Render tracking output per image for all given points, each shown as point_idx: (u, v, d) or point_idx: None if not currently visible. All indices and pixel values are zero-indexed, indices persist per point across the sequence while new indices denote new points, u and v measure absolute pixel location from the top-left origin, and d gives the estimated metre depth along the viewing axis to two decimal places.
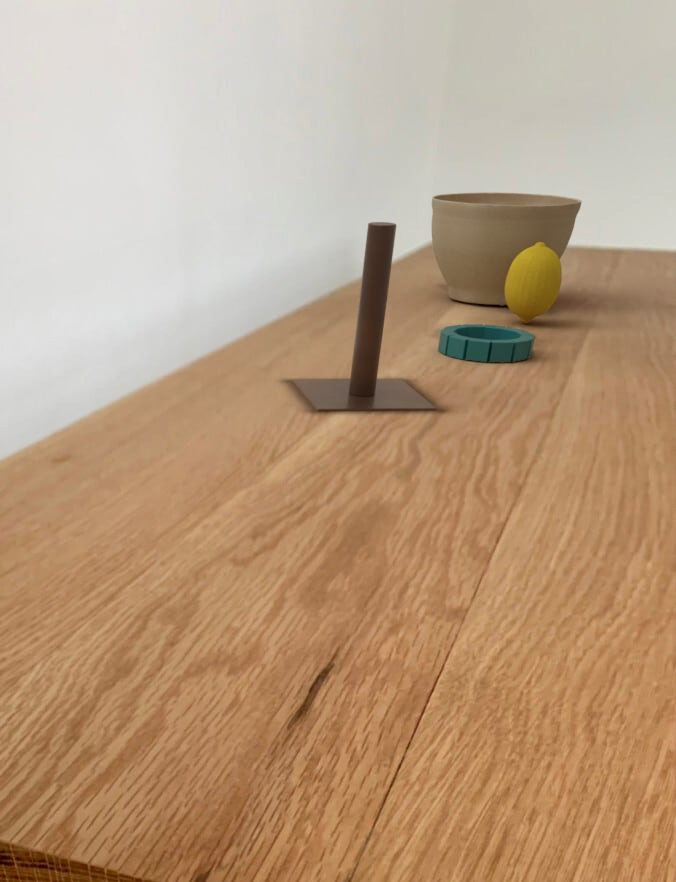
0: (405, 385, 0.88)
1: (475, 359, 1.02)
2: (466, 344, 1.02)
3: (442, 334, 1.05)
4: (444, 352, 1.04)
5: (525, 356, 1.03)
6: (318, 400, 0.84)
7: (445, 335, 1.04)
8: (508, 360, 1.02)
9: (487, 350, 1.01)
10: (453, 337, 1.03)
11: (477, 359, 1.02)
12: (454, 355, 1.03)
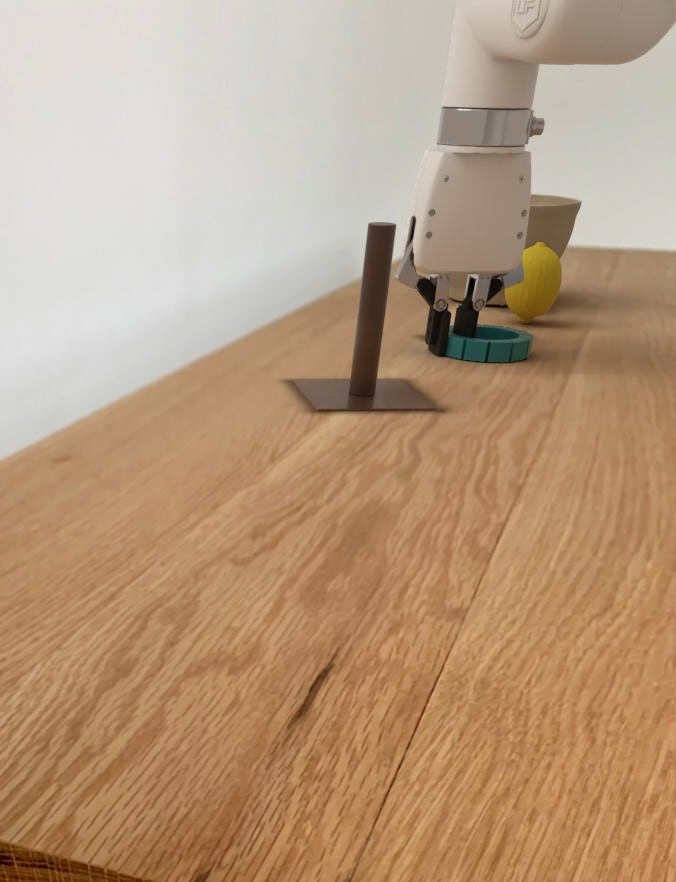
0: (405, 385, 0.88)
1: (473, 359, 1.02)
2: (464, 344, 1.02)
3: None
4: None
5: (523, 356, 1.03)
6: (318, 400, 0.84)
7: None
8: (506, 360, 1.02)
9: (485, 350, 1.01)
10: (451, 337, 1.03)
11: (475, 359, 1.02)
12: (452, 355, 1.03)
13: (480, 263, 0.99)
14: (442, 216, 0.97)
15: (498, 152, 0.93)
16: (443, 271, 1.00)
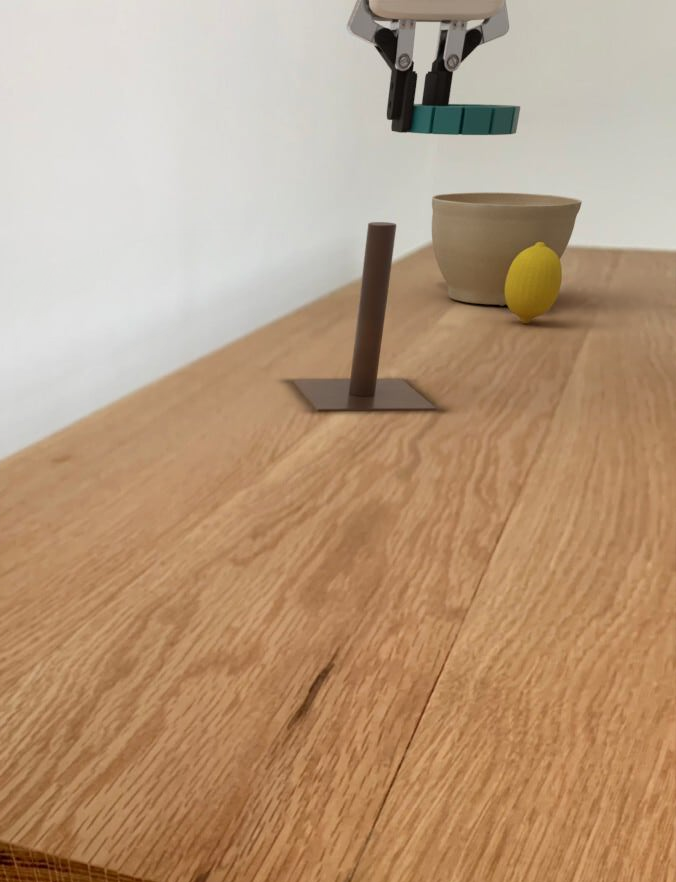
0: (405, 385, 0.88)
1: (444, 131, 0.82)
2: (433, 113, 0.82)
3: None
4: None
5: (507, 129, 0.82)
6: (318, 400, 0.84)
7: None
8: (485, 132, 0.82)
9: (459, 118, 0.81)
10: (417, 106, 0.83)
11: (447, 131, 0.82)
12: (419, 130, 0.83)
13: (452, 2, 0.79)
14: None
15: None
16: (406, 14, 0.80)
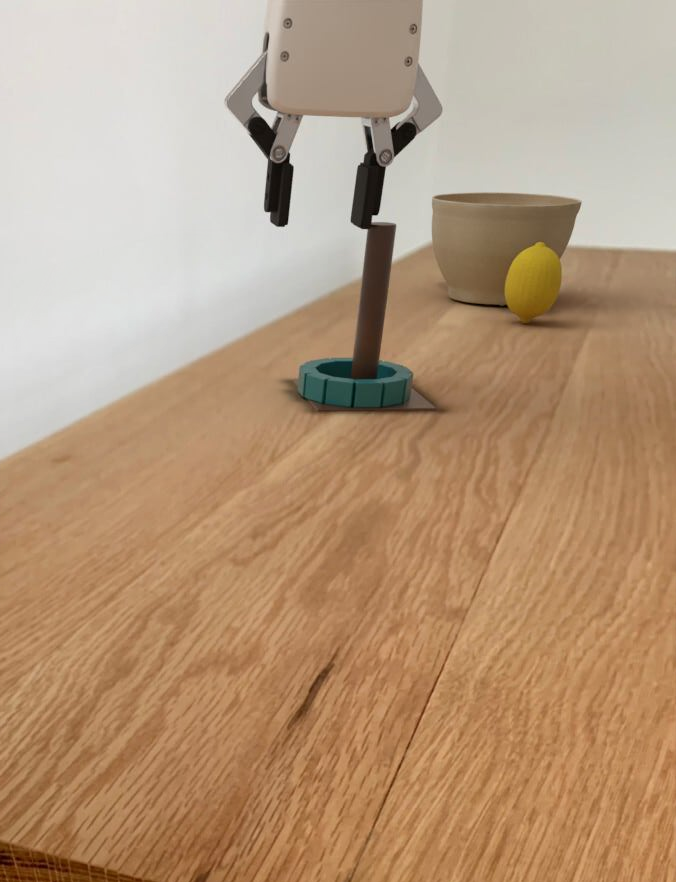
0: None
1: (336, 403, 0.82)
2: (325, 384, 0.82)
3: (300, 371, 0.85)
4: (302, 393, 0.85)
5: (399, 399, 0.83)
6: None
7: (302, 372, 0.84)
8: (377, 404, 0.82)
9: (350, 392, 0.82)
10: (311, 375, 0.83)
11: (339, 403, 0.82)
12: (312, 397, 0.84)
13: (356, 100, 0.74)
14: (302, 28, 0.71)
15: None
16: (306, 110, 0.74)
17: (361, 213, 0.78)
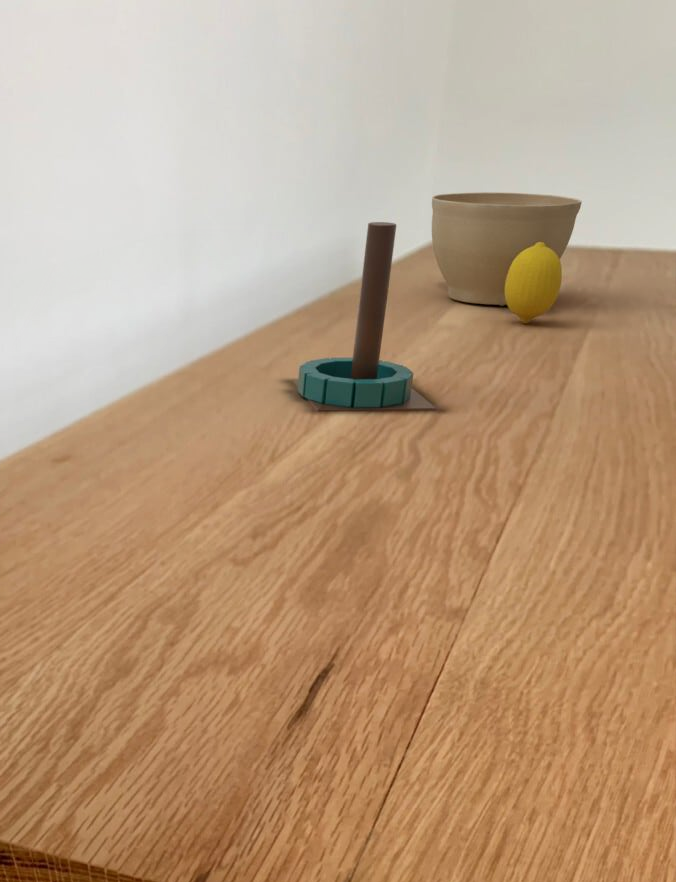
0: None
1: (336, 403, 0.82)
2: (325, 384, 0.82)
3: (300, 371, 0.85)
4: (302, 393, 0.85)
5: (399, 399, 0.83)
6: None
7: (302, 372, 0.84)
8: (377, 404, 0.82)
9: (350, 392, 0.82)
10: (311, 375, 0.83)
11: (339, 403, 0.82)
12: (312, 397, 0.84)
13: None
14: None
15: None
16: None
17: None
